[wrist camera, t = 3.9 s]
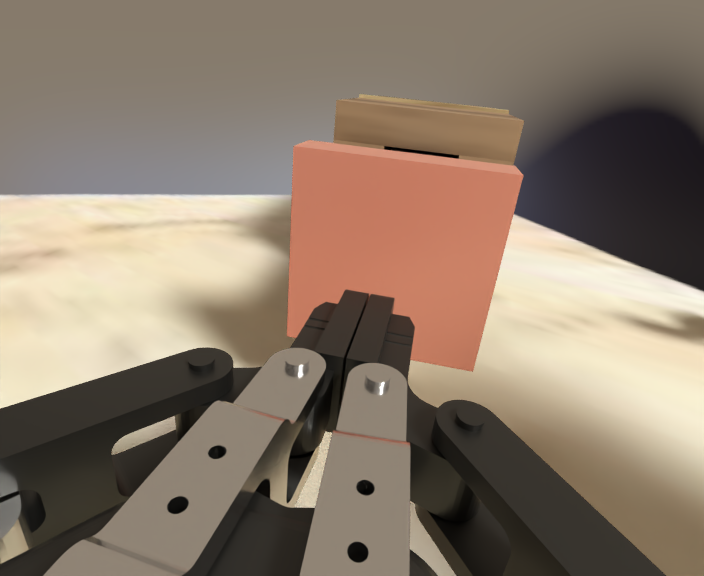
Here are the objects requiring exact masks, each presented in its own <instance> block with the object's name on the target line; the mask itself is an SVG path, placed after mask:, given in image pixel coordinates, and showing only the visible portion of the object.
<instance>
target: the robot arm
mask: <svg viewBox="0 0 704 576" xmlns="http://www.w3.org/2000/svg"><path fill="white" fill-rule="evenodd" d="M394 301H395V298H393V297H387V296H381V295H376V294H371V295H370V297H369V293H364V292H358V291H353V290H347V289H346V290H345V291H344V293H343V295H342V297H341V299H340V301H339V303H338V304H335V303H330V302H324V303H323V304H321V305H319V306H317V307H316V308H314V310H313V311H312V313H311V315H310V316H309V319H308V320H307V321H306V323H305V324H304V327H303V328H302V329H301V331H300V333H299V334H298V336H297V338H296V339H295V341H294V343H293V344H292V346H291V347H290V348H288V349H284V350H281V351H278V352H276V353H275V354H273V355H272V356H271V357H270V358H269V359H268V361H267V362H266V363H265V364H264V366H263V367H256V368H233V360H232V357H231V356H230V355H229V354H228V353H226V352H225V351H222V350H220V349H216V348H197V349H192V350H188V351H185V352H182V353H179V354H175V355H172V356H169V357H166V358H163V359H159V360H156V361H153V362H150V363H146V364H143V365H140V366H137V367H134V368H130V369H127V370H124V371H121V372H117V373H114V374H111V375H108V376H104V377H101V378H98V379H95V380H92V381H88V382H85V383H82V384H79V385H75V386H72V387H69V388H66V389H63V390H59V391H56V392H53V393H50V394H46V395H43V396H40V397H37V398H33V399H30V400H27V401H24V402H21V403H17V404H14V405H11V406H8V407H4V408H1V409H0V576H437V574H436V573H435V572H434V571H433V570H432V569H431V567H430V566H429V565H428V564H427V563H426V562H425V561H424V560H423V559H421V558H420V557H419V556H418V555H417V554H416V553H414V552H413V551H412V550H410V501H412V502H413V503H415V509H416V513H417V516H418V518H419V520H420V522H421V523H422V525H423V526H424V528H425V529H426V531H427V532H428V534H429V535H430V537H431V538H432V540H433V541H434V543H435V544H436V546H437V547H438V549H439V550H440V552H441V553H442V555H443V556H444V558H445V559H446V561H447V562H448V564H449V565H450V567H451V568H452V570H453V571H454V573H455V574H456V575H457V576H666V575H665V574H664V573H663V572H662V571H661V570H660V569H658V568H657V567H656V566H655V565H654V564H653V563H652V562H651V561H650V560H649V559H648V558H647V557H646V556H645V555H644V554H643V553H641V552H640V551H639V550H638V549H637V548H636V547H635V546H634V545H633V544H632V543H631V542H630V541H629V540H628V539H627V538H625V537H624V536H623V535H622V534H621V533H620V532H619V531H618V530H617V529H616V528H615V527H614V526H613V525H612V524H611V523H609V522H608V521H607V520H606V519H605V518H604V517H603V516H602V515H601V514H600V513H599V512H598V511H597V510H596V509H595V508H593V507H592V506H591V505H590V504H589V503H588V502H587V501H586V500H585V499H584V498H583V497H582V496H581V495H580V494H579V493H578V492H576V491H575V490H574V489H573V488H572V487H571V486H570V485H569V484H568V483H567V482H566V481H565V480H564V479H563V478H562V477H560V476H559V475H558V474H557V473H556V472H555V471H554V470H553V469H552V468H551V467H550V466H549V465H548V464H547V463H546V462H544V461H543V460H542V459H541V458H540V457H539V456H538V455H537V454H536V453H535V452H534V451H533V450H532V449H531V448H530V447H529V446H527V445H526V444H525V443H524V442H523V441H522V440H521V439H520V438H519V437H518V436H517V435H516V434H515V433H514V432H513V431H511V430H510V429H509V428H508V427H507V426H506V425H505V424H504V423H503V422H502V421H501V420H500V419H499V418H498V417H497V416H495V415H494V414H493V413H492V412H491V411H490V410H488V409H487V408H485V407H483V406H481V405H479V404H477V403H474V402H470V401H465V400H452V401H448V402H445V403H443V404H442V405H441V406H440V407H439V408H436V407H434V406H432V405H430V404H428V403H426V402H424V401H422V400H421V399H419V398H418V397H417V396H416V395H415V394H414V393H413V392H412V390H411V389H410V387H409V385H408V372H409V365H410V358H411V351H412V344H413V338H414V331H415V326H414V324H413V322H412V321H411V319H410V317H407V316H402V315H396V314H393V308H394ZM172 416H175V421H176V430H174V431H172V432H169V433H167V434H165V435H162V436H160V437H157V438H155V439H153V440H150V441H148V442H145V443H143V444H140V445H138V446H136V447H133V448H131V449H128V450H126V451H124V452H121V453H119V454H115V455H111V451H112V448H113V446H114V445H115V443H116V442H117V441H118V440H119V439H120V438H122V437H123V436H125V435H127V434H129V433H132V432H134V431H137V430H139V429H142V428H144V427H147V426H149V425H152V424H154V423H157V422H160V421H162V420H165V419H167V418H170V417H172ZM325 431H327V432H332V437H331V441H330V446H329V450H328V454H327V459H326V463H325V467H324V472H323V476H322V480H321V485H320V489H319V493H318V498H317V502H316V507H315V508H294V506H295V504H296V502H297V500H298V498H299V496H300V494H301V491H302V489H303V487H304V485H305V483H306V481H307V478H308V476H309V474H310V472H311V470H312V468H313V465H314V463H315V461H316V459H317V457H318V453H319V444H320V443H321V441H322V438H323V436H324V433H325Z"/></svg>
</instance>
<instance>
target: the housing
mask: <svg viewBox="0 0 704 576" xmlns="http://www.w3.org/2000/svg"><path fill="white" fill-rule="evenodd" d="M508 113H509V111H508V110H501V109H495V108H486V107H478V106H469V105H459V104H449V103H441V102H432V101H423V100H413V99H404V98H395V97H385V96H373V95H363V94H360V95H359V98H353V99H343V100H337V102H336V116H335V130H334V143H336V144H344V145H352V146H360V147H368V148H376V149H384V150H392V149H393V148H394V147H397V148H405V149H413V150H421V151H429V152H437V153H445V154H452V158H456V159H464V160H472V161H480V162H488V163H496V164H504V165H512V166H513V164H514V160H515V156H516V152H517V147H518V144H519V140H520V135H521V131H522V127H523V123H524V121H523V120H521V119H518V118H516V117H513V116H511V115H509V114H508Z"/></svg>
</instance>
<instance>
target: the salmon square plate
mask: <svg viewBox="0 0 704 576" xmlns="http://www.w3.org/2000/svg"><path fill="white" fill-rule="evenodd" d="M522 179H523V174H522V173H521V172H520V171H519V170H518V169H517V167H516V166H512V165H504V164H496V163H488V162H480V161H472V160H464V159H456V158H452V154H445V153H437V152H429V151H421V150H413V149H405V148H397V147H394V148H393V149H392V150H384V149H376V148H368V147H360V146H352V145H344V144H336V143H328V142H320V141H312V140H308V141H306V142H303V143H300V144H298V145H295V146H294V149H293V177H292V205H291V233H290V262H289V290H288V318H287V336H289V337H294V338H297V336H298V334H299V333H300V331H301V329H302V328H303V327H304V324H305V323H306V321H307V320H308V319H309V316H310V315H311V313H312V311H313V310H314V308H316V307H317V306H319V305H321V304H323V303H324V302H330V303H335V304H338V303H339V301H340V299H341V297H342V295H343V293H344V291H345V290H346V289H347V290H353V291H358V292H364V293H369V297H370V295H371V294H376V295H381V296H387V297H393V298H395V301H394V308H393V314H396V315H402V316H407V317H410V319H411V321H412V322H413V324H414V326H415V331H414V338H413V344H412V351H411V358H410V360H415V361H420V362H425V363H430V364H435V365H441V366H446V367H451V368H456V369H462V370H467V371H472V372H473V369H474V365H475V361H476V357H477V354H478V350H479V346H480V342H481V338H482V334H483V330H484V326H485V322H486V319H487V315H488V311H489V307H490V303H491V299H492V295H493V291H494V287H495V284H496V280H497V276H498V272H499V268H500V264H501V260H502V256H503V252H504V249H505V245H506V241H507V237H508V233H509V229H510V225H511V221H512V217H513V214H514V210H515V206H516V202H517V198H518V194H519V190H520V186H521V182H522Z"/></svg>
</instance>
